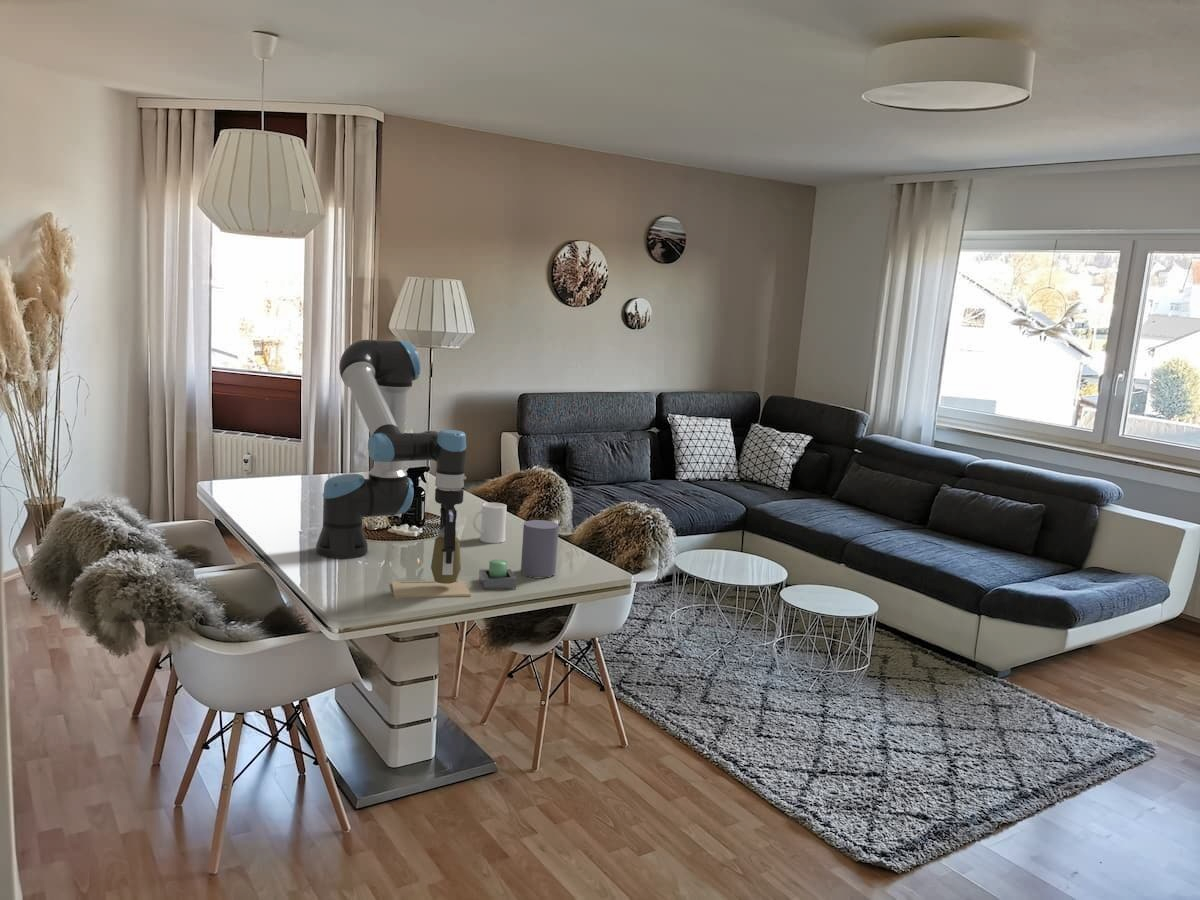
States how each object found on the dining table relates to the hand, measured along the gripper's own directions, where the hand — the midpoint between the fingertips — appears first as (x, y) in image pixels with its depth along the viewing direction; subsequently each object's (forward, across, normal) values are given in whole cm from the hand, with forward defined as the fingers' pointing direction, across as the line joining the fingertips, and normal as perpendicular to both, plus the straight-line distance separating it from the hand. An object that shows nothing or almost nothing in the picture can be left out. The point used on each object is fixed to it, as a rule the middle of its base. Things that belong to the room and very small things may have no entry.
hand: (445, 569), depth 248 cm
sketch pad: (+6, 0, +4) cm, 7 cm away
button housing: (+6, +4, -15) cm, 17 cm away
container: (+6, +14, -29) cm, 33 cm away
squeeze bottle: (+3, 0, 0) cm, 3 cm away
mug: (+6, +51, -20) cm, 55 cm away
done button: (+4, +4, -15) cm, 16 cm away
